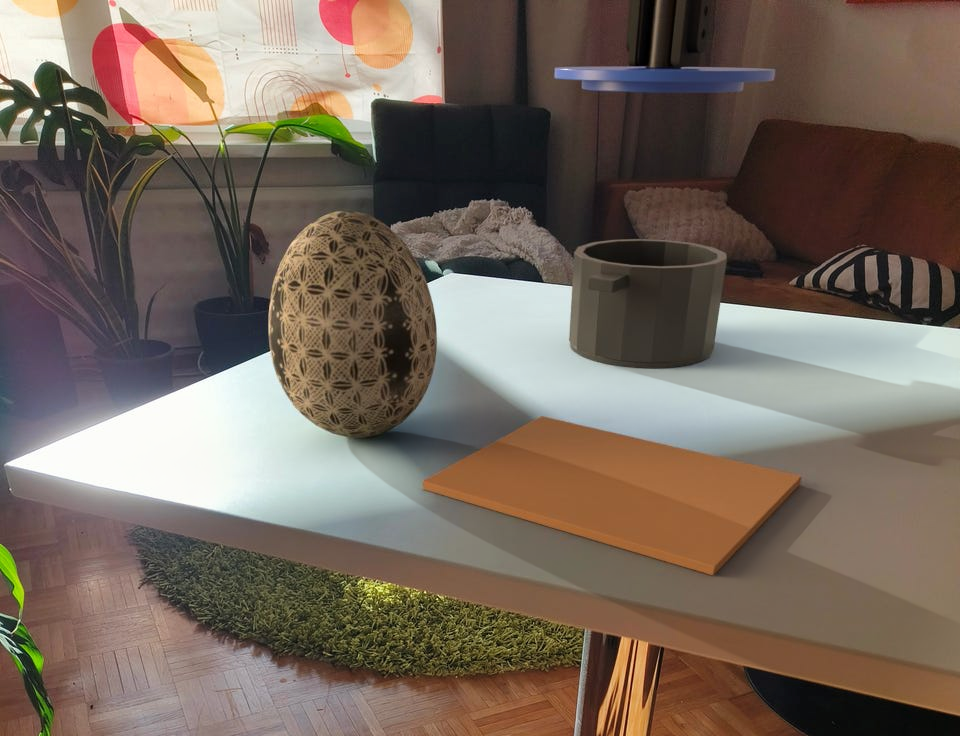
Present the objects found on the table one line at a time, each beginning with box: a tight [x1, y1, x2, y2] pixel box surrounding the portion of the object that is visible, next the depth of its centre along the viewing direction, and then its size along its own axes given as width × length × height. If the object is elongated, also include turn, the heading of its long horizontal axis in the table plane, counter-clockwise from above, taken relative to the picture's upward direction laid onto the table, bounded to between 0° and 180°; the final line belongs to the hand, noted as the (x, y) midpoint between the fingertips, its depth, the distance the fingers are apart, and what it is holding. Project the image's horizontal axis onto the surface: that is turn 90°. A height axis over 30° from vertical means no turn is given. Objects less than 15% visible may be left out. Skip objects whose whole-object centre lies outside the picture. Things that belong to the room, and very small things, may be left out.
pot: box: [568, 238, 728, 369], centre depth 83 cm, size 14×19×8 cm
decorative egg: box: [267, 210, 438, 439], centre depth 62 cm, size 12×12×15 cm
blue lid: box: [553, 0, 776, 94], centre depth 59 cm, size 15×15×7 cm
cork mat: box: [422, 415, 803, 576], centre depth 58 cm, size 20×15×1 cm
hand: (663, 63), depth 60 cm, fingers closed on blue lid, 2 cm apart
